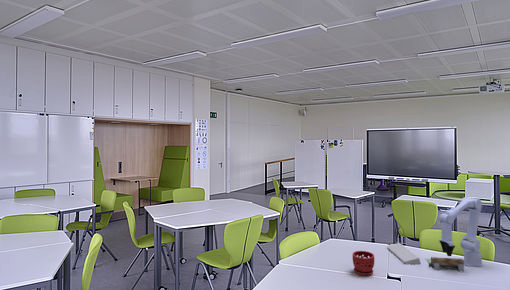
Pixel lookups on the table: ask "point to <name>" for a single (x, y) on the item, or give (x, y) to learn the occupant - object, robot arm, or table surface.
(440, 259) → the rail
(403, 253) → the decorative molding
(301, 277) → the table surface
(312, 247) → the table surface
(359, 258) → the plant pot
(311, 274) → the table surface
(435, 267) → the standards
